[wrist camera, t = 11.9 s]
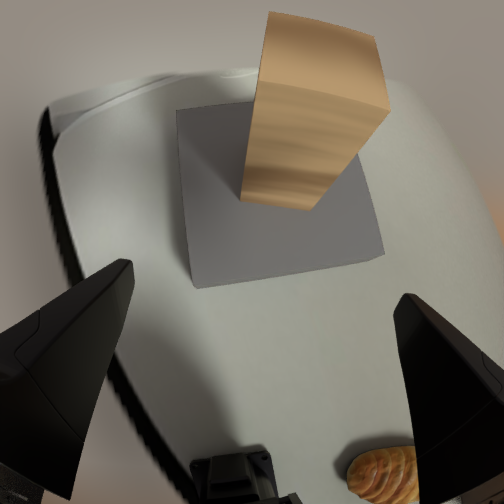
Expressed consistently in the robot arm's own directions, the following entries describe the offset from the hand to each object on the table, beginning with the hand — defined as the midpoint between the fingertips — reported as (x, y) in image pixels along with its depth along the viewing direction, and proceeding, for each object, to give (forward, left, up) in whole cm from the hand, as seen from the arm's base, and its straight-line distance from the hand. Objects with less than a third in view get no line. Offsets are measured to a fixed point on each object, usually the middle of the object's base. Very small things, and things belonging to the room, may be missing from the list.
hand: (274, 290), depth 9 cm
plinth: (+9, -4, -14) cm, 17 cm away
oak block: (+9, -4, -11) cm, 14 cm away
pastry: (-19, -11, -14) cm, 26 cm away
